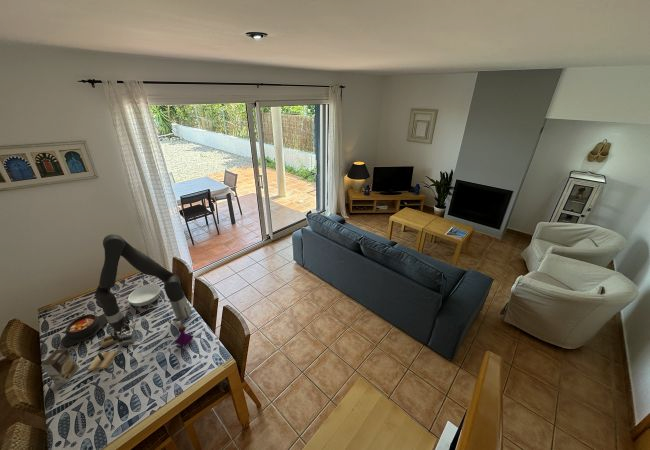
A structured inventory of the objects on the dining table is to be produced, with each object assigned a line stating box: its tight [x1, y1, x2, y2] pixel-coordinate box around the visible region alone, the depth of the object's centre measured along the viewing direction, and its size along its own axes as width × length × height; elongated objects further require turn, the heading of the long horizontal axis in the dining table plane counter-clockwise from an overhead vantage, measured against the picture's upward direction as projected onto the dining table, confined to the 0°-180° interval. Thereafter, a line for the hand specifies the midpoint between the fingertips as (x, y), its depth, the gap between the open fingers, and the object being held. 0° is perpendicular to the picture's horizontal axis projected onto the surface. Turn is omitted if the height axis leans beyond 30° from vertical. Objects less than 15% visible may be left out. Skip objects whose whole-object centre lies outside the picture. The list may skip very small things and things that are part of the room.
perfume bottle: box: [174, 320, 194, 347], centre depth 159 cm, size 8×8×18 cm
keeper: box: [87, 350, 118, 371], centre depth 151 cm, size 10×10×6 cm
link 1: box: [100, 334, 119, 348], centre depth 163 cm, size 8×5×3 cm
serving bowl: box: [127, 283, 162, 307], centre depth 195 cm, size 21×21×7 cm
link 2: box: [117, 333, 138, 347], centre depth 163 cm, size 8×5×3 cm
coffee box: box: [40, 348, 80, 385], centre depth 141 cm, size 9×6×16 cm
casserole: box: [60, 313, 109, 347], centre depth 168 cm, size 25×19×8 cm
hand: (124, 336), depth 161 cm, fingers open, 8 cm apart
